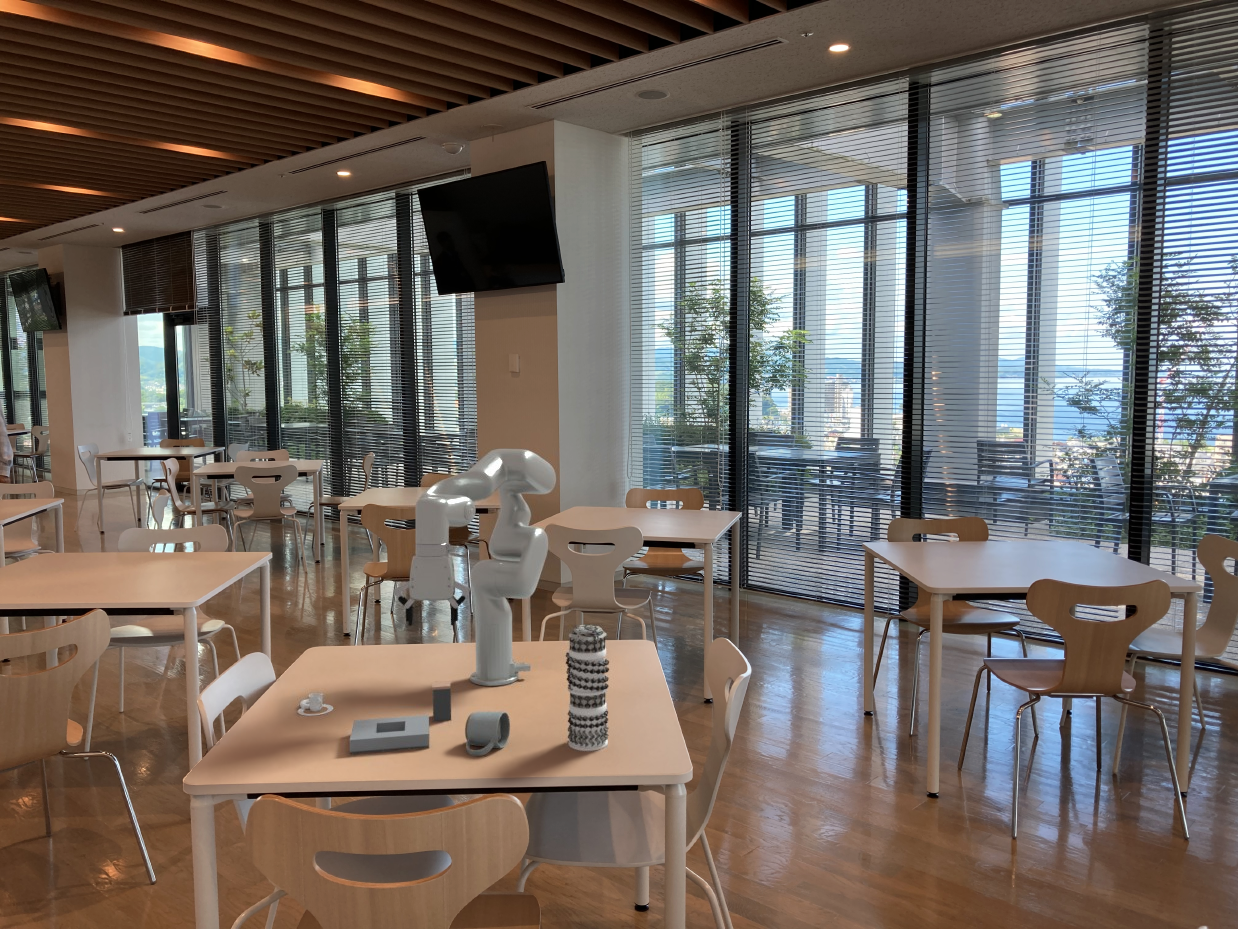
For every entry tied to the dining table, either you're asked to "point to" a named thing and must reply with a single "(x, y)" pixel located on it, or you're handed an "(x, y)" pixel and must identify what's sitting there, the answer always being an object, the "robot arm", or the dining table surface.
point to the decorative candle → (587, 688)
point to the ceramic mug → (487, 731)
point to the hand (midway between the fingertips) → (432, 624)
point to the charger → (441, 701)
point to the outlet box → (389, 734)
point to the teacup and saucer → (313, 704)
